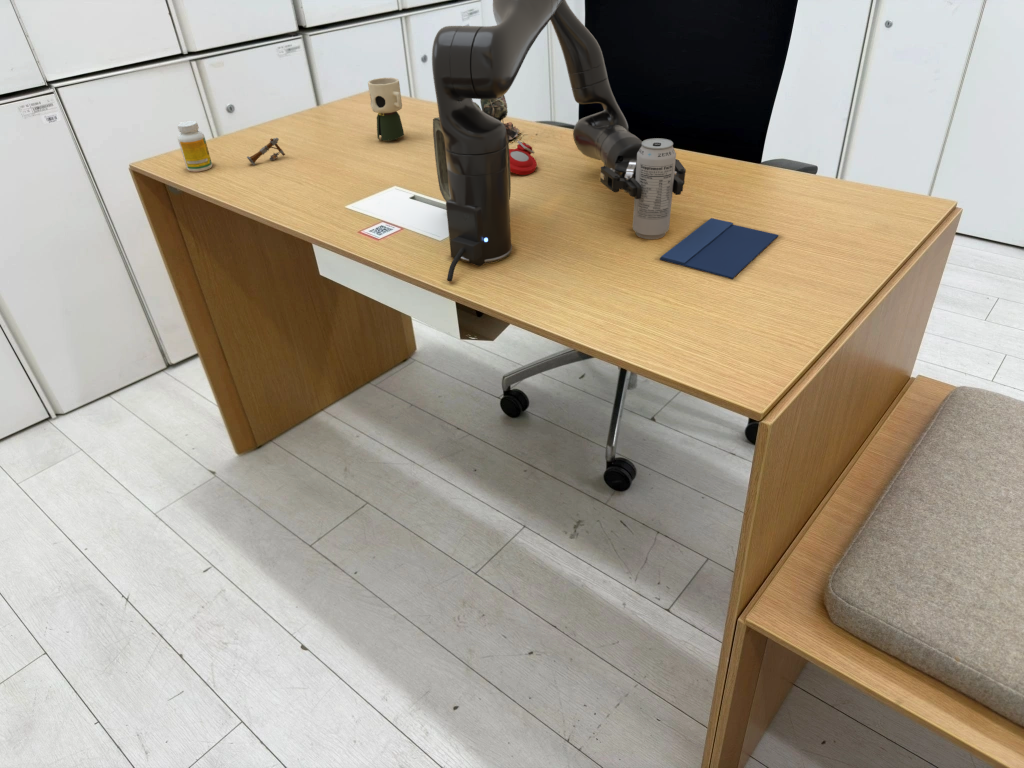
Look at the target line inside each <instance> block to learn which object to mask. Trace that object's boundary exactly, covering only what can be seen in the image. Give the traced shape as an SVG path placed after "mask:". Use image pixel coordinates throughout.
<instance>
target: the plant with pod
mask: <svg viewBox="0 0 1024 768" xmlns="http://www.w3.org/2000/svg"><path fill="white" fill-rule="evenodd" d="M479 101H480V108H481V110H482V111H483V112H484V113H486V114H487V115H489V116H491V117H493V118H495V119H497V120H499V121H501V122H502V123H503V124H504V126H505V128H506V133H507V136H508V142H509V141H511V140H514V139H515V138H516V137H518V134H519V133H520V132H521V130H520V129H519V128H518V127H516V126H514V124H513V122H512V121H508V122H505V123H504V120H505V118H507V116H508V103H507V100H506V96H505V94H504V95H503V96H502V97H500V98H496V99H479Z"/></svg>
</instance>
